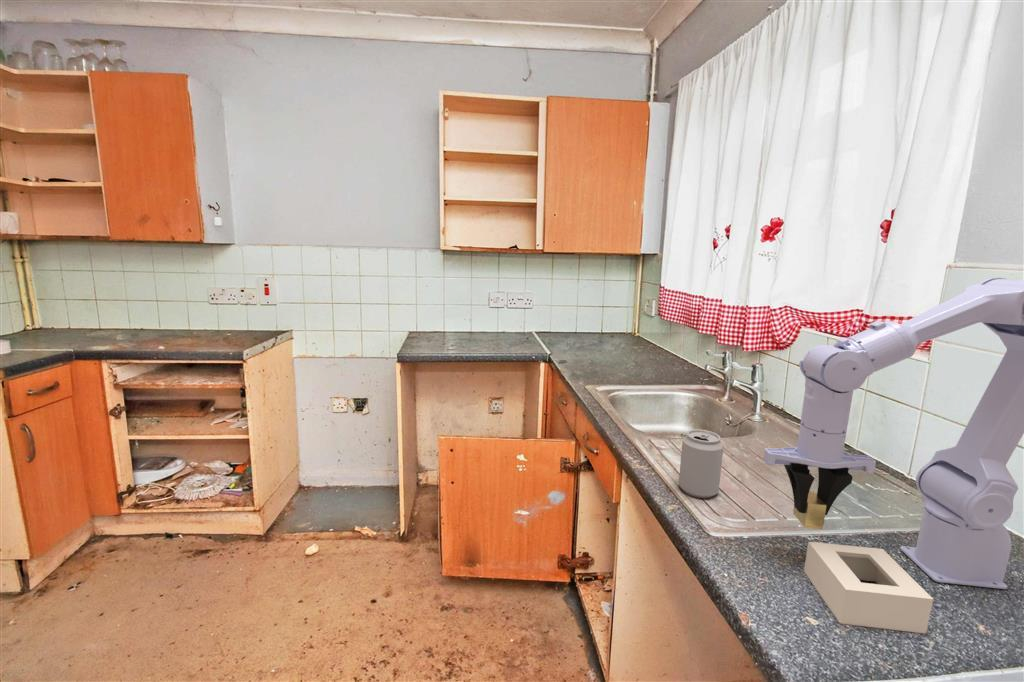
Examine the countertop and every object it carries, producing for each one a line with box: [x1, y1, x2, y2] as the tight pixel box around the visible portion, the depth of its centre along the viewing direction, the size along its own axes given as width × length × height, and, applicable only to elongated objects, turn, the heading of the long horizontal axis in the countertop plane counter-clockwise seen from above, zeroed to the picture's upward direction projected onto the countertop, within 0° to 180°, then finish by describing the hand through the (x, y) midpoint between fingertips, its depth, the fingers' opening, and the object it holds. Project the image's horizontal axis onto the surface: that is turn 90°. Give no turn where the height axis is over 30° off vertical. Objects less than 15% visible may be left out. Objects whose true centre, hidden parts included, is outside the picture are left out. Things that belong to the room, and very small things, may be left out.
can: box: [678, 428, 725, 499], centre depth 92 cm, size 8×8×12 cm
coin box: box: [803, 541, 934, 634], centre depth 64 cm, size 10×10×5 cm
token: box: [792, 490, 826, 530], centre depth 71 cm, size 2×4×4 cm, turn 171°
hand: (810, 510), depth 71 cm, fingers closed on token, 2 cm apart
